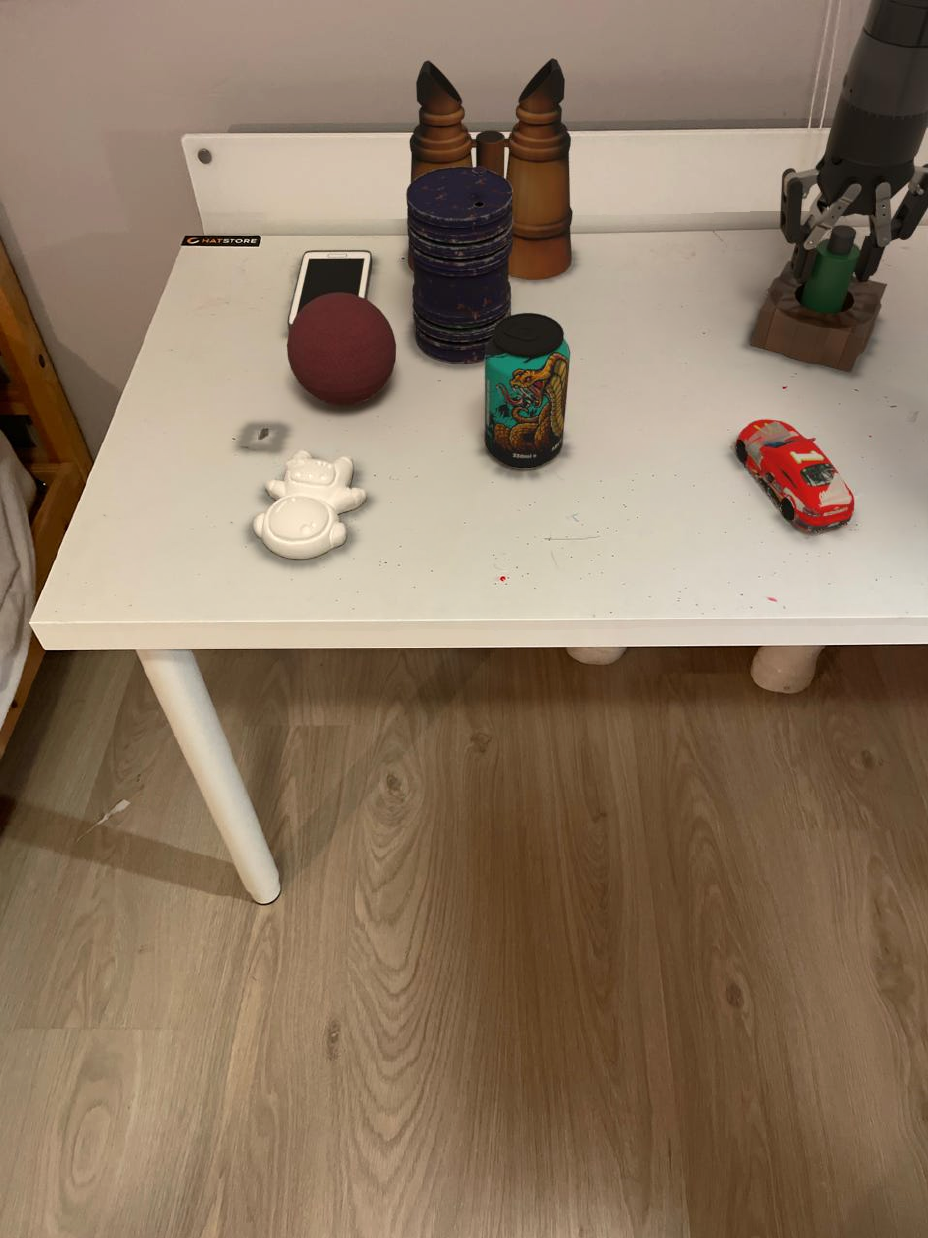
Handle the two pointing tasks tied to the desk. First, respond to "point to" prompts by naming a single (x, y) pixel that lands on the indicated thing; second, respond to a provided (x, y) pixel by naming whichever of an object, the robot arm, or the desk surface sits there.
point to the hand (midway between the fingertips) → (830, 277)
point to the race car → (796, 475)
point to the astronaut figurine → (308, 507)
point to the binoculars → (530, 167)
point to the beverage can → (526, 390)
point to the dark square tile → (262, 433)
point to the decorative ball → (341, 349)
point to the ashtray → (817, 323)
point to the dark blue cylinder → (459, 259)
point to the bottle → (831, 271)
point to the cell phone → (330, 276)
